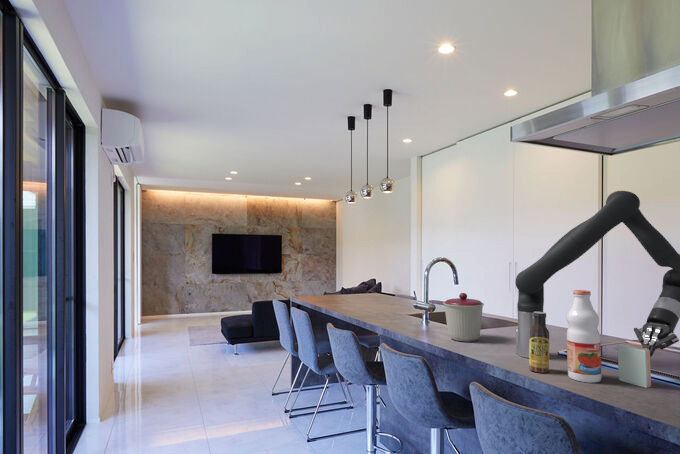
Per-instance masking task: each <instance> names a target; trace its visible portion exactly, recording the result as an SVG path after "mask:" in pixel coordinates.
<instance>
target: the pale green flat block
mask: <svg viewBox="0 0 680 454" xmlns="http://www.w3.org/2000/svg"><path fill="white" fill-rule="evenodd" d="M617 363H618V367H617V368H618V381H620V382H623V383H628V384H631V385H635V386H639V387H643V388H645V389H646V388H651V387H652V377H651V376H652V375H651V374H652V372H651V357H650V350H649V349H644V348H642V347H638V346H633V345H630V344H629V345H628V344H622V343H621V344H617Z"/></svg>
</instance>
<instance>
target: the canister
mask: <svg viewBox="0 0 680 454" xmlns="http://www.w3.org/2000/svg"><path fill="white" fill-rule="evenodd" d="M458 297H459V298H449V299H446V300H445V301H443V303H442V305H444V311H445V318H446V319H445V320H446V326H447V332H448V336H449V338H450V339H452V340H453V341H457V342H467V343H468V342H475V341H477V340H479V338H480V336H481V328H482V318H483V308H484V305H485V303H484V302H482V301H481V300H479V299H474V298H468V294H467V293H466V292H461V293H459V295H458Z"/></svg>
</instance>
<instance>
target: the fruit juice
mask: <svg viewBox="0 0 680 454" xmlns="http://www.w3.org/2000/svg"><path fill="white" fill-rule="evenodd" d="M572 291H573V292H572V295H573V297H574V299H573V302H572V305H571V307H570V309H569V310H568V311H567V313H566V323H567V325H568V328H567V330H566V356H567V357H566V358H567V361H566V362H567V375H568V378H569V379H572V380H574V381H576V382H577V381H579V382H583V383H590V384H591V383H592V384H593V383H595V384H596V383H599V382H601V380H602V354H601V349H602V348H601V334H600V331H599V328H598V327H599V324H600V317H599V314H598V313H597V312H596V310H595V309H594V307H593V304H592V302H591V298H590V297H591V295H592V294H591V293H592V292H591V291H590V290H585V289H574V290H572Z"/></svg>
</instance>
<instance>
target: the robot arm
mask: <svg viewBox="0 0 680 454" xmlns="http://www.w3.org/2000/svg"><path fill="white" fill-rule="evenodd" d="M640 205H641V202H640V197H639V196H638V195H637V194H635V193H634V192H632V191H627V190H616V191H613V192H612V193H610V194H609V195H608V196H607V198H606V201H605V204H604V206H603V207H601V208H600V209H599V210H598V211H597V212H596V213H595V214H594V215H593V216H590V218H587V219H586V220H585V221H582V222H581V223H580V224H578V225H576V226H575V227H573V228H572V229H570V230H569V231H567V233H565V234H564V235H563V236H562V237H561V238H559V239H558V240H557V241H556V242H555V243H554V244H553V245H552V246H551V247H550V248H549V249H548V250H547V251H545V252H546V253H544V255H542V256H541V257H540V258H539V259H538V260H536V261H535V262H534V263H532V264H531V265H530V266H528V267H527V268H525V269H524V270H521V271H520V272H519V273H517V275H516V277H515V286H516V289H517V290H518V297H517V304H516V305H517V306H516V307H517V308H516V309H517V310H516V311H517V328H516V329H515V344H516V345H515V346H516V347H515V348H516V349H515V351H516V353H515V354H517V355H518V356H520V357H522V358H526V359H527V358H528V359H529V339H530V330H531V328H532V326H533V325H534V324H533V323H534V316H533V312H544V304H545V292H544V291H545V290H544V289H545V288H544V287H545V286H544V285H545V283H546V282H547V281H548V280H549V279H551V278H552V277H553V276H554V275H555V274H556V273H558V272H560V270H562V269H564V268H565V267H569V265H571V264H572V263H573V262H575V261H576V260H579V258H580V257H581V256H583V255H584V254H586V252H587V251H589V250H590V249H591V248H593V247H594V245H596V244H597V243H598V242H599V241H600V240H601V239H603V238H604V236H606V235H607V234H608V233H609V232H610V231H612V229H614V228H616V227H617V226H619V225H620V224H621V223H623V224H624V225H625V226H626V228H627V229H628V230H629V231H630V232H631V233H632V235H634V238H636V239H637V241H638V242H639V243H640V245H641V246H642V247H643V248H644V250H645V251H646V252H647V253H648V255H649V256H650V257H651V259H652V260H654V262H655V263H656V265H658V266H659V267H662V268H663V267H664V268H671V269H669V270H667V271H666V272H665V273H664V275H663V277H662V285H661V286H662V287H661V292H660V294H659V296H658V298H657V300H656V302H654V304H653V307H652V308H651V311H650V312H649V315H648V316H647V318H646V322H645V324H643V325H642V327H640V328H638V327H634V328H633V332H634V333H635V336H636V338H637V340H638V342H639V343H640V344H641V346H642V347H641V348H644V349H649V350H650V358H652V357H653V355H654V353H655V351H656V350H657V349H659V350H664V349H666V348H669V347H671V346H672V345H674V344H676V343H679V341H680V339H679V337H678V336H677V335H676V334H675V333H674V331H675V329H676V327H677V326H678V325H677V324H678V323H679V321H680V253H679V252H677V250H676V249H675V248H674V246H673V245H672V244H671V242H669V240H667V238H665V236H664V235H663V234H662V233H661V232H660V231H659V230H657V228H655V227H654V225H652V224H651V222H649V220H648V219H647V218H646V217H645V215H644V214H643V213H642V211H641V210H640ZM644 334H645V335H644ZM643 336H644V337H643Z"/></svg>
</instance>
